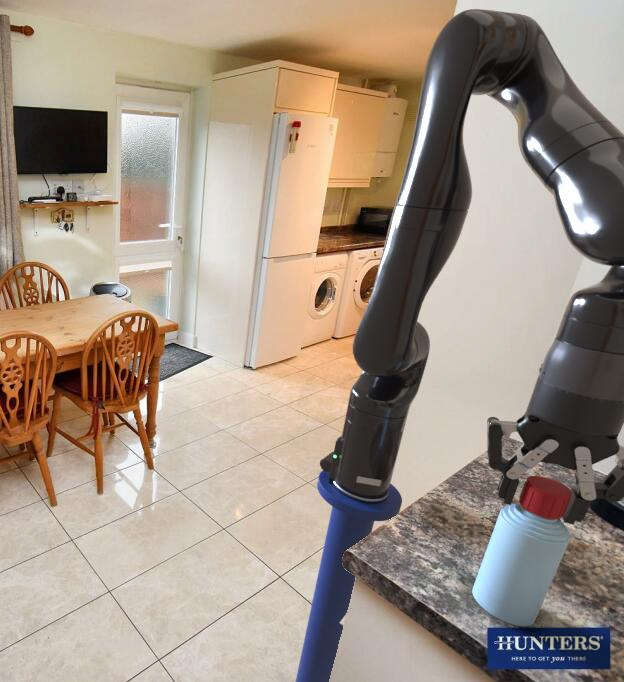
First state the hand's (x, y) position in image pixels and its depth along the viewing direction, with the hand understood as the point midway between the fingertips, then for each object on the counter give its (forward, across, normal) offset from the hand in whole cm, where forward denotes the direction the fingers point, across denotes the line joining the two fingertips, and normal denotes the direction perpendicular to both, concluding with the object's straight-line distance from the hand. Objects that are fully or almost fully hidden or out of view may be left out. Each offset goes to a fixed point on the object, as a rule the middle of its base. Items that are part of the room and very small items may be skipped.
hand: (535, 509), depth 54 cm
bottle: (+15, 0, 0) cm, 15 cm away
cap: (-1, 0, -1) cm, 1 cm away
